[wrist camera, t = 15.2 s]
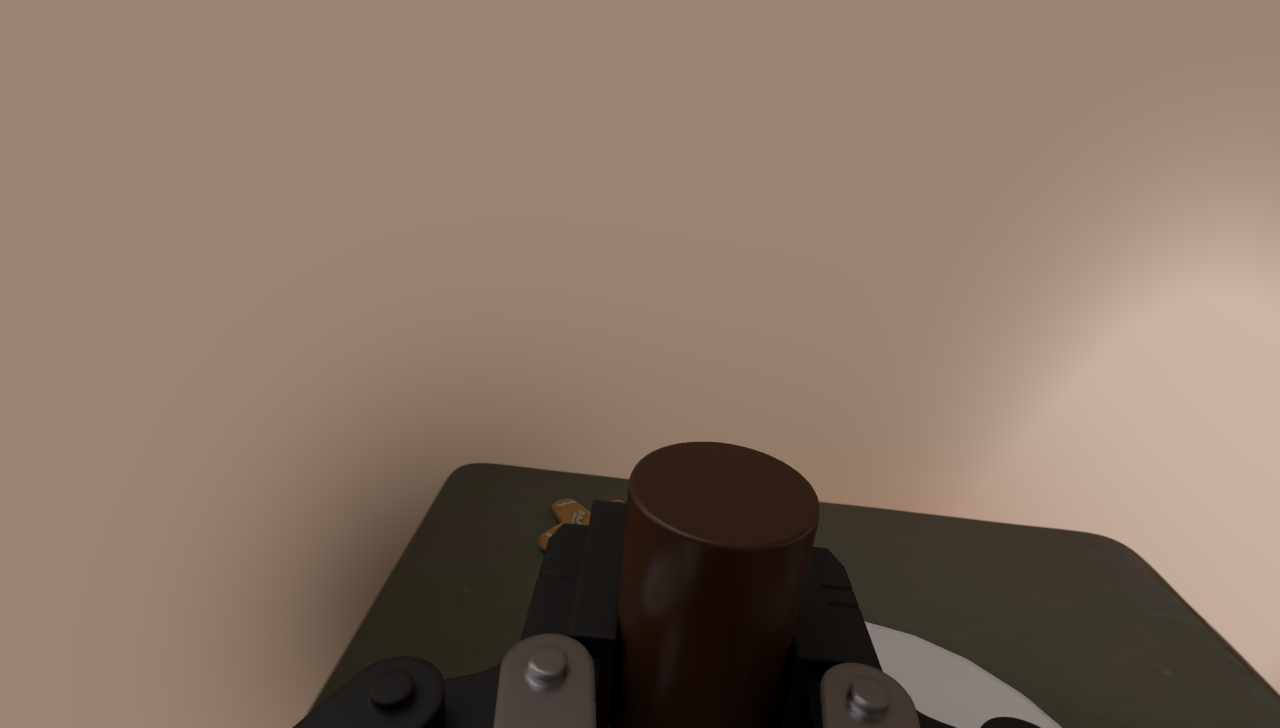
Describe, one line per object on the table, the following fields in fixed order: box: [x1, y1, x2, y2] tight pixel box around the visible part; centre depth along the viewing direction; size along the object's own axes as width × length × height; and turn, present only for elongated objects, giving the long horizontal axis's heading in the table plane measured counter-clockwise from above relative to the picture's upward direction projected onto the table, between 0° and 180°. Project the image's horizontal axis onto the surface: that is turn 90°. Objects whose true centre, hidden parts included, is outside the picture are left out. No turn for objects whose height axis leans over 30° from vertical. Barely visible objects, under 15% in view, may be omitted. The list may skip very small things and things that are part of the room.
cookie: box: [538, 499, 623, 551], centre depth 52 cm, size 8×1×10 cm
